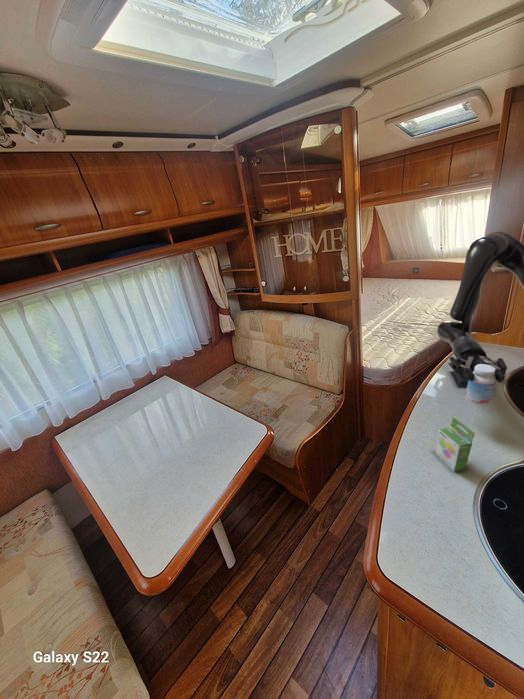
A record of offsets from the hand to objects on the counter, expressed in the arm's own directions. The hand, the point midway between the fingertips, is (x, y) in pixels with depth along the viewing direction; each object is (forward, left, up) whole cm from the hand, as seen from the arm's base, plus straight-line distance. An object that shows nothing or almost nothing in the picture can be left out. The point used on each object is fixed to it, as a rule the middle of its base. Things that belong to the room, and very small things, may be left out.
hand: (486, 379), depth 76 cm
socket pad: (-8, -30, -21) cm, 38 cm away
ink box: (+9, +13, -21) cm, 26 cm away
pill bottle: (0, -3, -9) cm, 10 cm away
